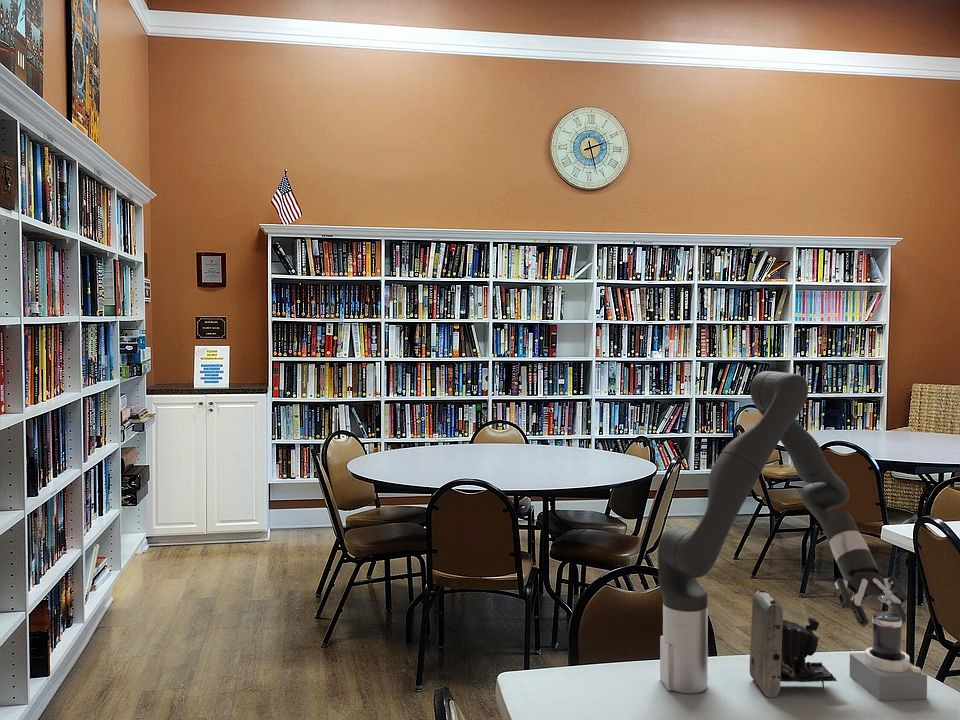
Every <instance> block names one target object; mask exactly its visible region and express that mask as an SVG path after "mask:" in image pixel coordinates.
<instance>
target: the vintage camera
mask: <svg viewBox="0 0 960 720" xmlns="http://www.w3.org/2000/svg"><path fill="white" fill-rule="evenodd" d="M751 610H752V611H751V626H750V629H751V630H750V632H751V633H750V648H749V651H750V652H749V675H750V677H751V678H752V680H753V681H754V682H755V683H756V685H757V686H758V687H759V689H760V690H761V691H762V693H763V694H764V695H765V696H767V697H768V698H774V697H775V698H776V697H777V696H778V695H779V693H780V692H781V691H780V690H781V682H783V683H785V682H787V683H792V682H793V683H815V682H816V683H819V682H821V685H822V689H825V684H824V682H838V680H837V678H836V677H835V676H834V674H833V673H831V672H830V671H829V670H828V669H827V668H826V667H825V666H824V665H823V662H821V661H820V662H818V661H817V662H810V661H807V662H806V658H807V656H809V657H812V656H813V655H814V654H815V653H816V651H817V650H818V649H817V648H818V644H819V640H821V637H818V636H817V635H816V634H814V632H813V631H815V632H817V630H818V628H819V624H820V622H819V621H817V620H816V619H815V618H813V617H808V619H807V620H808V624H806V625H805V627H804V625H799V623H797V622H793V621H789V620H786V619H784V610H783V607H782V605H781V604H780V603H779V602H777V601H776V600H775V599H774V598H773V597H772V596H771V595H770V594H769V592H768V591H767V590H764V589H759V590H757V591H756V592H755V593H754V594H753V596H752V608H751Z"/></svg>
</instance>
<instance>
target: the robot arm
mask: <svg viewBox="0 0 960 720" xmlns="http://www.w3.org/2000/svg"><path fill="white" fill-rule="evenodd" d="M749 390H750V391H749V392H750V393H749V394H750V397H751V400H752V402H753V404H754V406H755V408H756V409H757V410H758V412H759V413H760V414H761V418H760V419H759V420H758V421H757V422H756V423H754V424H753V425H752V426H751V427H749V428H748V429H747V430H745V431H744V432H742V433H741V434H739V435H738V436H736V437H735V438H734V439H732V440H731V441H730V442H729V443H727V444H726V446H725V447H723V449H722V450H721V452H720V454H719V456H718V457H717V459H716V461H715V462H714V464H713V466H712V468H711V470H710V472H709V477H708V487H707V488H708V490H707V491H708V492H707V493H708V499H707V507H706V510H705V512H704V514H703V516H702V518H701V520H700V522H699V523H698V524H697V526H696V528H694V530H692V529H690V528H689V529H688V528H685V527H682V526H681V527H680V526H672V527H669V528H667V529H666V530H665V531H664V532H663V533H662V535H661V537H660V539H659V542H658V546H657V568H658V586H659V590H660V594H661V596H662V620H663V621H662V635H660V637H659V641H660V643H659V644H660V645H659V648H660V649H659V652H660V653H659V656H660V657H659V658H660V659H659V675H660V677H659V679H660V681H661V683H662V684H663V686H664V687H665V689H666V690H667V691H669V692H670V691H672V692H677V693H682V694H697V693H701V692H704V691H706V690H707V689H708V680H709V679H708V678H709V676H708V663H709V662H708V659H709V658H708V645H709V644H708V643H709V642H708V639H709V638H708V633H709V632H708V631H709V629H708V627H709V626H708V622H709V621H708V619H709V617H708V616H709V615H708V614H709V613H708V610H709V609H708V604H709V601H708V599H709V598H708V594H707V591H706V590H705V589H704V588H703V587H702V586H701V585H700V583H699V582H698V580H697V579H699V578H701V577H704V576H705V575H707V574H708V573H709V572H710V571H711V570H712V568H713V566H714V565H715V563H716V562H717V560H718V558H719V554H721V550H722V549H723V546H724V544H725V542H726V538H727V536H728V535H729V532H730V530H731V528H732V526H733V523H734V521H736V520H735V519H736V518H737V516H738V514H739V512H740V510H741V508H742V506H743V505H744V502H745V501H746V499H747V497H748V496H749V494H750V493H751V491H752V489H753V488H754V486H755V484H756V482H757V480H758V479H759V478H760V475H761V473H762V472H763V470H764V468H765V466H766V464H767V462H768V460H769V459H770V457H771V455H772V454H773V452H774V451H775V450H776V448H777V446H778V445H779V442H781V444H782V446H783V447H784V449H785V451H786V453H787V454H788V456H789V458H790V460H791V463H792V464H793V467H794V469H795V471H796V473H797V474H798V476H799V478H800V480H802V481H803V482H804V483H807V484H806V485H804V486H803V487H802V489H801V491H800V499H801V501H802V503H803V505H804V506H805V508H806V509H807V510H808V511H809V513H811V514H812V515H813V516H814V518H815V519H816V521H818V523H819V524H820V526H821V528H822V530H823V532H824V534H825V536H826V539H827V541H828V543H829V546H830V549H831V552H832V555H833V557H834V560H835V562H836V564H837V567H838V568H839V571H840V573H841V575H842V577H843V578H841V577H838V578H837V579H836V580H835V581H834V583H833V585H832V586H833V588H834V591H835V593H836V596H837V599H838V602H839V604H840V606H841V608H842V609H848V610H850V611H852V613H853V616H854V618H855V620H856V623H858V625H860V627H862V628H863V627H864V628H865V627H867V626H868V624H869V619H868V617H867V615H866V613H865V610H864V608H863V606H862V605H861V602H862V600H863V601H868V600H878V601H880V602H881V603H882V604H883V603H884V604H886V605H887V606H888V607H890V608H891V613H892V614H896V615H898V616H900V617H901V618H902V626H903V625H904V624H905V623H906V622H907V615H906V613H905V611H904V608H903V607H902V606H903V604H904V603H905V602H906V601H907V600H908V597H907V596H906V593H905V592H904V590H903V589H902V586H901V584H900V583H899V581H898V579H897V577H896V576H894V575H890V577H886V578H884V577H882V576H881V575H880V573H879V568H878V566H877V565H878V564H877V563H876V560H875V559H874V557H873V554H872V553H871V550H870V549H869V546H868V544H867V541H866V540H865V538H863V536H862V534H861V533H860V531H859V528H858V526H857V523H856V521H855V520H854V517H853V516H852V514H850V513H849V512H848V511H844V510H838V511H829V510H832V509H835V508H838V507H840V506H843V505H845V504H847V502H848V501H849V499H850V490H849V488H848V486H847V484H846V483H845V482H844V481H843V480H842V479H841V478H840V477H839V476H838V475H837V473H835V472H834V470H833V469H832V468H831V467H830V464H829V463H828V461H827V459H826V457H825V455H824V452H823V450H822V448H821V447H820V445H819V443H818V442H817V441H816V439H815V437H813V436H812V435H811V433H809V431H807V430H806V428H804V427H803V426H802V425H801V424H800V423H799V422H798V421H797V419H796V418H797V417H798V415H799V414H801V411H802V410H803V408H804V406H805V404H806V402H807V398H808V394H809V384H808V382H807V380H806V378H805V377H803V376H802V375H800V374H797V373H791V372H784V371H783V372H781V371H775V370H774V371H773V370H771V371H770V370H765V371H761V372H759V373H757V374H756V375H755V376H754V377H753V379H752V381H751V382H750V389H749ZM696 578H697V579H696ZM847 588H848V590H850V591H851V592H853V594H852V597H850V594H849V592H848V590H847ZM883 594H884V595H883Z"/></svg>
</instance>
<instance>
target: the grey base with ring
mask: <svg viewBox="0 0 960 720" xmlns="http://www.w3.org/2000/svg"><path fill="white" fill-rule="evenodd" d="M849 677H850V678H851V679H853V681H855V682H856V683H857V684H859V685H860V686H861V687H862V688H863V689H864V690H865V691H867V692H868V693H869V694H871V695H872V696H873V697H874V698H876V699H877V700H878V701H907V700H908V701H909V700H911V699H912V700H928V674H927V673H925V672H924V671H923V670H922V669H921V668H920V667H919V666H916V665H914V664H913V663H911V661H910V655H909V654H907V653H906V652H904V650H903V651H902V650H901V660H900V661H890V660H884V659H880V658H877V657H874V656H873V655H872V646H871V647H868V648H866V649H865V652H854V653H853V652H852V653H851V652H850V653H849Z"/></svg>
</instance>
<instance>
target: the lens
mask: <svg viewBox="0 0 960 720" xmlns="http://www.w3.org/2000/svg"><path fill="white" fill-rule="evenodd" d="M871 618H872V619H871V623H872V626H871V628H872V629H871V633H872V634H871V636H872V637H871V638H872V639H871V641H872V643H871V647H872V655H873V656H874V657H877V658H880V659H884V660H890V661H900V660H901V651H902V626H903V625H902V618H901V617H900V616H898V615H896V614H893V612H884V611H883V612H882V611H879V612H874V613H872V614H871Z"/></svg>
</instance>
